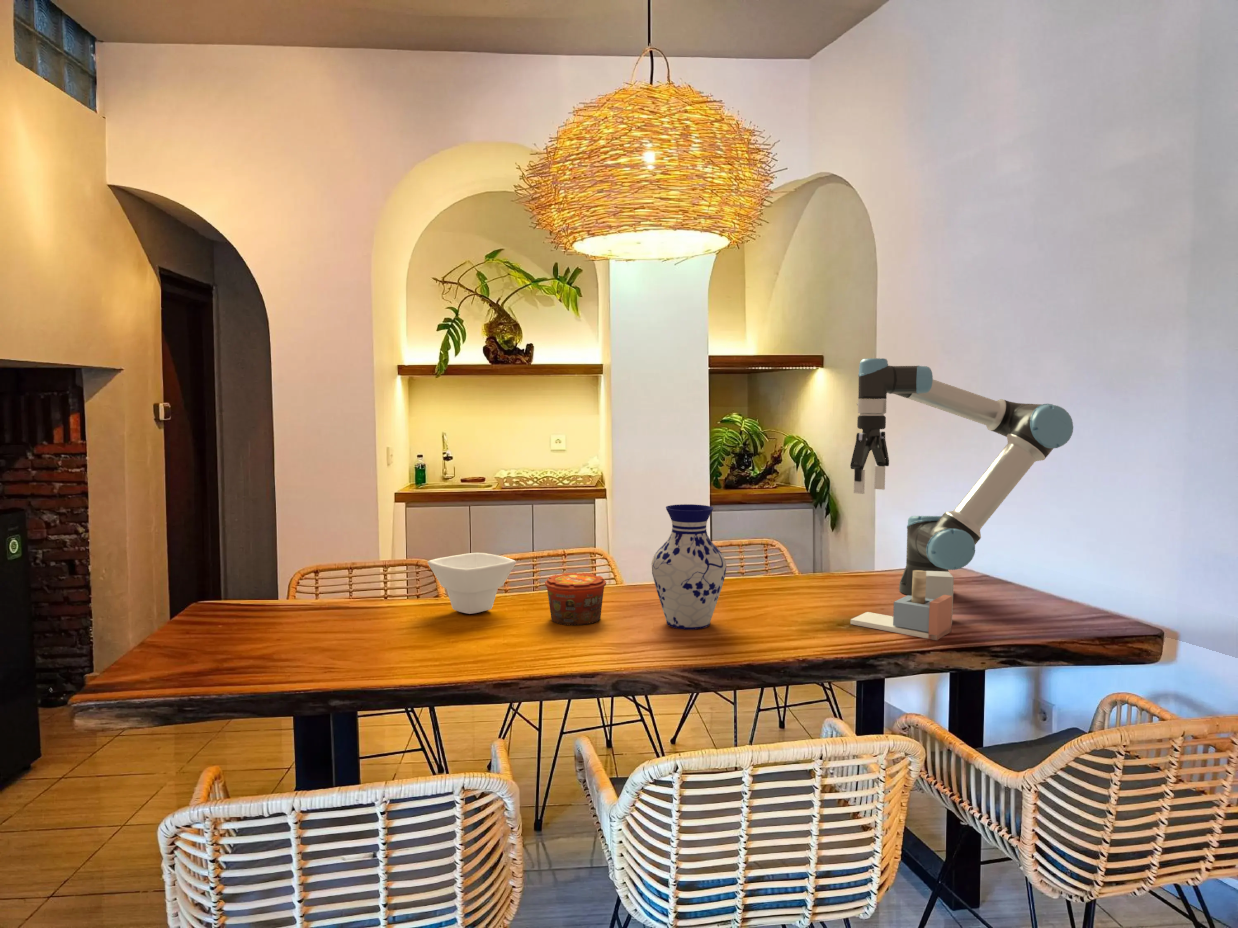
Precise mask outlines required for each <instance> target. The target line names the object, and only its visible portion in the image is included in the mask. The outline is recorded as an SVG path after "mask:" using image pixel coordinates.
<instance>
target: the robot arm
mask: <svg viewBox="0 0 1238 928" xmlns="http://www.w3.org/2000/svg"><path fill="white" fill-rule="evenodd" d="M888 394H889V395H891V394H893V395H896V396H899V397H902V398H905V399H907V400H911V401H914V402H917V403H919V404H923V405H926V406H928V407H932V408H935V409H938V410H940V411H943V412H946V413H949V414H952V415H954V416H957V417H961V418H964V419H966V420H970V421H972V422H974V423H978V424H982V425H984V426H986V429H987V430H988V431H991V432H994V433H997V434H998V435H1001V436H1003V437H1005V438H1006V440H1007V444H1006V445H1005V446H1004V447H1003V449H1002V450H1001V451H1000V452H999V453H998V455H997V456H996V457H995V459H994V460H993V461H992V462H991V464H990V465H989V466H988V467H987V468H986V470H985V471H984V472H983V474H982V475H981V476H980V477H979V478H978V480H977V481H976V482H975V483H974V485H973V486H972V487H971V488H970V490H969V491H968V493H966V495H965V496H964V497H963V498H962V500H961V501H960V502H959V503H958V504H957V506H956V507H955V508H954V509H952V510H950V511H945V512H943V514H942V515H911V516H909V518H908V519H907V525H906V532H907V533H906V562H905V563H906V564H905V568H904V571H903V573H902V575H901V578H900V580H899V584H898V585H899V588H898V590H899V592H900V593H901V594H904V595H906V596H907V595H909V596H912V578H913V570H922V571H944V572H949V573H950V571H951V570H952V571H953V570H954V571H955V570H959V569H962V568H964V567H966V566H968V564H970V563H971V561H972V560H973V559H974V556H975V555H976V545H977V544H978V542H979V541H980V540H981V538H982V536H981V529H982V528H983V526H984V525H985V524H986V523H987V522H988V521H989V519H990V518H991V516H993V514H994V513H995V512H996V511H997V509H998V508H999V507H1000V506H1001V505H1002V503H1003V502H1004V501H1005V499H1006V498H1007V497H1008V496H1009V494H1011V492H1012V491H1013V490H1014V489H1015V487H1016V486H1017V485H1018V484H1019V482H1020V481H1021V480H1022V479H1023V477H1024V476H1025V475H1026V473H1027V472H1028V471H1029V470H1030V469H1031V468H1032V466H1033V465H1034V464H1035V463H1036V462H1041V461H1045V459H1046V458H1047V457H1048V456H1050V454H1051V452H1052V451H1053V450H1055V449H1058V448H1060V447H1063V446H1064V445H1066V444H1067V443H1068V442H1069V441H1070V440H1071V437H1072V435H1073V433H1074V422H1073V419H1072V416H1071V414H1070V413H1069V412H1068V411H1067V410H1066V409H1065V408H1063V407H1062V406H1059V405H1054V404H1053V403H1043V404H1039V403H1021V402H1014V401H1009V400H1006V399H1002V398H1001V399H997V400H995V399H993V398H992V399H991V398H989V397H985V396H983V395H980V394H977V393H974V392H971V391H968V390H965V389H963V388H960V387H957V386H953V385H951V384H948V383H944V382H942V381H939V380H936V379H934V377H933V372H932V369H931V368H930V367H929V366H925V365H924V366H923V365H889V363H888V360H887V358H880V357H878V358H872V357H871V358H862V359H861V360H860V362H859V367H858V396H857V398H858V399H857V401H858V402H857V403H856V406H857V413H858V414H859V415H857V422H856V423H857V424H856V425H857V429H860V430H862V432H856V436H855V437H856V438H855V444H854V447H853V451H852V452H853V453H852V457H851V461H850V470H854V472H853V475H854V476H853V494H859V495H864V494H865V483H866V482H865V481H866V469H864V468H865V465H866V462H867V460H868V457H869V454H870V452H872V454H873V455H872V456H873V458H874V460H875V464H876V465H875V466H874V488H873V489H874V490H883V491H884V490H885V489H886V487H885V486H886V467H889V466H890V458H889V457H890V456H889V453H888V447H887V441H886V440H887V439H886V432H885V431H882V430H885V429H886V422H887V421H886V420H887V418H886V415H885V414H887V400H888V399H887V397H888V396H887V395H888ZM949 570H950V571H949ZM953 590H954V587H953Z"/></svg>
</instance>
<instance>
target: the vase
mask: <svg viewBox="0 0 1238 928" xmlns="http://www.w3.org/2000/svg"><path fill="white" fill-rule="evenodd" d="M665 510H666V511H667V514H668V515H669V518H670V521H671V526H672V527H671V532H670V534H669V536H668V538H667V539H666V541H665V542H664V543H663V544H662V546H660V548H658V550H657V551H656V552H655V554H653V557H652V561H651V575H652V577H653V582H654V585H655V591H656V593H657V596H658V599H659V603H660V605H661V608H662V611H663V615H664V618H665V622H666V625H667V626H669V627H671V628H674V629H678V630H679V629H680V630H700V629H701V630H702V629H705V628H708V627H709V626H710V625H711V624H710V623H711V621H712V618H713V615H714V612H715V610H716V606H717V603H718V600H719V598H720V594H721V591H722V589H723V585H724V582H725V578H726V576H727V575H726V574H727V561H726V559H725V556H724V554H723V553H722V552H721V550H720V549H719V548H718V547H717V546H716V545H715V544H714V543H713V541H712V539H710V537H709V534H708V532H707V523H708V521H709V518H710V516H711V514H712V512H713V510H714V507H713V506H711V505H705V504H687V503H684V504H671V505H667V506H665Z"/></svg>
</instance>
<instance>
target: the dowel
mask: <svg viewBox="0 0 1238 928" xmlns="http://www.w3.org/2000/svg"><path fill="white" fill-rule="evenodd" d="M925 594H926V571H922V570H913V578H912V603H918V604H925Z"/></svg>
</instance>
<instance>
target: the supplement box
mask: <svg viewBox="0 0 1238 928" xmlns="http://www.w3.org/2000/svg"><path fill="white" fill-rule="evenodd" d="M954 582H955V577H954V576H953V575H952V573H950V571H949V572H944V571H926V594H925V598H928V599H934V600H935V599H937V598H939V597H941V596H943V595H950V596H952V614H953V611H954V610H953V609H954V608H953V606H954V589H953V588H954ZM952 625H953V620H952V621H951V626H952Z"/></svg>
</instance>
